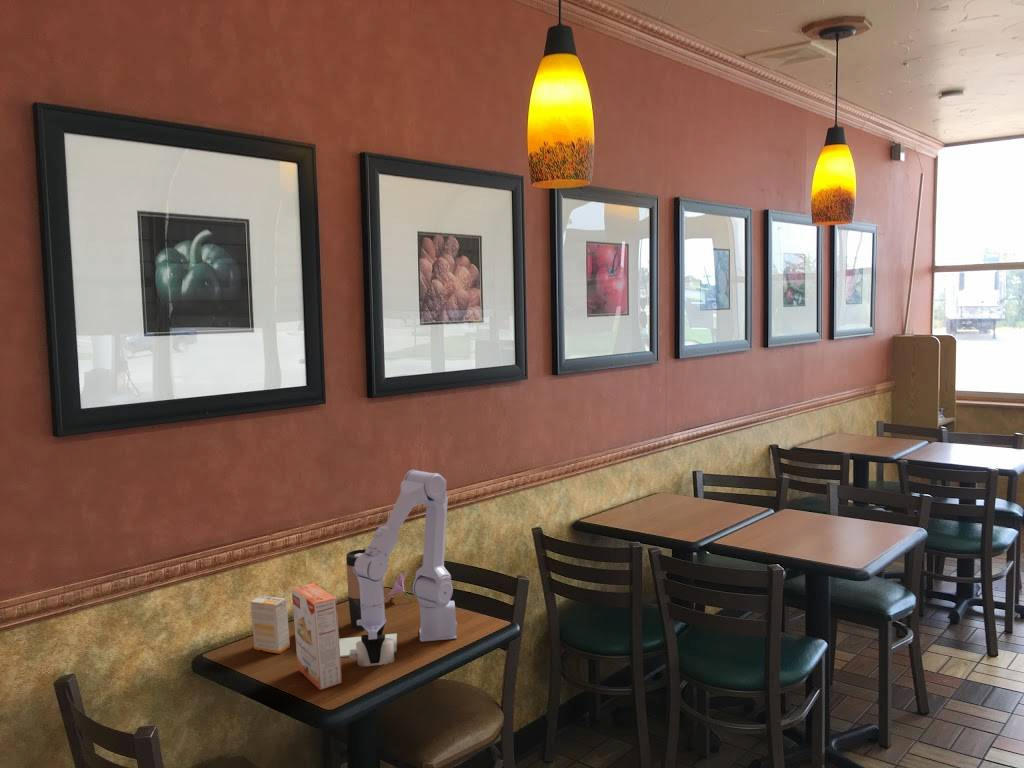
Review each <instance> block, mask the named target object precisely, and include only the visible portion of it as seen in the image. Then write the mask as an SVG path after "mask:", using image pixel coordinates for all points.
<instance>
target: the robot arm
mask: <svg viewBox="0 0 1024 768" xmlns="http://www.w3.org/2000/svg"><path fill="white" fill-rule="evenodd" d="M448 501H449V500H448V495H447V479H445V478H444V477H443V475H441V474H440V473H437V472H434V473H433V472H427V471H422V470H417V469H411V470H408V471H407V473H406V474H405V475H404V478H403V480H402V481H401V483H400V493H399V495H398V497H397V499H396V501H395V504H394V506H393V509H392V511H391V512H390V515H389V516H388V518H387V520H386V523H385V524H384V525H382V526H379V527H378V528H377V529H376V530H375V531H374V533H373V537H372V538H371V540H370V541H369V544H368V545H367V548H366V549H365V550H366V551H365V553H364V554H362V555H360V556H359V557H358V558H357V559H356V561H355V566H354V567H353V571H354V573H355V574H356V575H357V577H358V582H359V587H360V603H361V620H357V625H361V626H362V627H363V628H364V629H363V630H365V631H366V634H363V635H362V634H361V636H360V637H361V640H362V642H363V644H364V645H365V647H366V650H367V653H368V657H369V660H370V663H371V664H374V663H379V662H380V655H381V647H382V644H383V641H384V639H385V634H383V633H384V632H383V631H384V628H385V625H386V623H387V619H386V613H385V612H386V611H385V610H386V609H385V601H384V599H385V594H384V593H385V592H384V577H385V575H386V574H387V573H388V567H389V566H388V565H389V562H390V560H389V559H390V556H391V554H392V552H393V550H394V549H395V546H396V545H397V542H398V541H399V538H400V536H399V530H400V528H401V527H402V525H403V523H404V522H405V520H406V519H407V517H408V516H409V514H410V512H412V509H413V508H414V507H415V506H416V505H419V504H424V505H425V522H424V537H423V539H424V540H423V557H422V558H423V559H422V566H421V567H419V568H418V569H417V570H416V572H415V579H414V581H413V584H412V593H413V596H415V597H416V598H417V603H418V604H419V615H420V617H419V618H420V619H419V620H420V628H419V631H418V632H419V642H422V643H424V642H434V641H444V640H456V639H457V628H458V622H457V621H456V620H457V619H456V605H455V603H456V602H455V600H451V599H452V596H453V592H454V589H453V584H452V575H451V574H450V572H449V571H448V570H447V569H446V567H445V551H446V532H447V515H448Z"/></svg>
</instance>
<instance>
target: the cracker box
mask: <svg viewBox="0 0 1024 768" xmlns="http://www.w3.org/2000/svg"><path fill="white" fill-rule="evenodd" d="M291 597H292V608H293V609H292V611H293V622H294V633H295V635H294V637H295V648H296V657H297V658H296V661H297V670H298V671H299V672H300V673H301V674H302V675H304V677H306V678H307V680H308V681H310V682H311V684H313V685H314V686H315V687H316V688H317V689H318V690H319V691H322V690H325V689H328V688H333V687H335V686H338V685H340V684H342V683H343V679H342V678H343V677H342V676H343V675H342V662H341V661H342V660H341V657H340V646H339V639H340V633H339V621H338V619H339V618H338V606H337V605H338V604H337V598H336V597H334V596H333V595H332V594H330V593H328V592H327V591H326V590H324V589H322V588H321V587H320V586H318V585H317V584H315V582H312V583H309V584H303V585H299V586H295V587H292V588H291Z"/></svg>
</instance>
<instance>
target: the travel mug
mask: <svg viewBox="0 0 1024 768" xmlns="http://www.w3.org/2000/svg"><path fill="white" fill-rule="evenodd" d="M365 551H366V549H357V550H352V551H349V552H347V553H346V557H345V558H346V559H345V560H346V576H347V578H346V581H347V595H348V597H347V598H348V607H349V608H348V609H349V617H350V625H351V626H350V627H352V628H353V629H356V630H365V629H364V628H363V627H362V626H361V625H357V620H361V603H360V587H359V582H358V577H357V575H356V574H355V573H354V571H353V567H354V566H355V561H356V559H357V558H358V557H359V556H360V555H362V554H364V553H365Z"/></svg>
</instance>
